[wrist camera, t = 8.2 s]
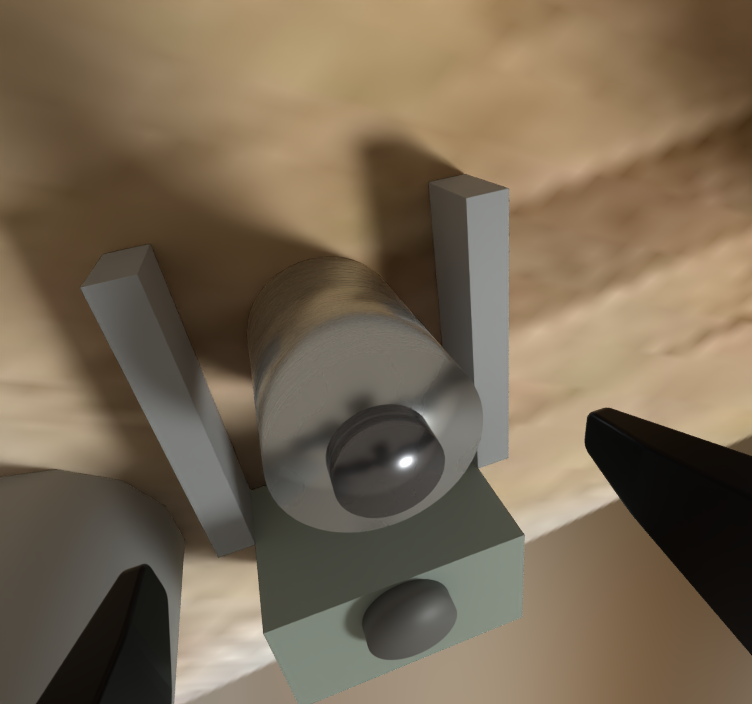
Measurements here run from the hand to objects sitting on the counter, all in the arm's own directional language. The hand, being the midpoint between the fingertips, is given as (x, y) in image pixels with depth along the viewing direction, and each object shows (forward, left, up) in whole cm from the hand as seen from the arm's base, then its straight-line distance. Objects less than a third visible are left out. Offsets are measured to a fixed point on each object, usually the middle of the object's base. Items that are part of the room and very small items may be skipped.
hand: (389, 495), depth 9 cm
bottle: (0, 0, -7) cm, 7 cm away
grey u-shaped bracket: (0, +3, -7) cm, 8 cm away
